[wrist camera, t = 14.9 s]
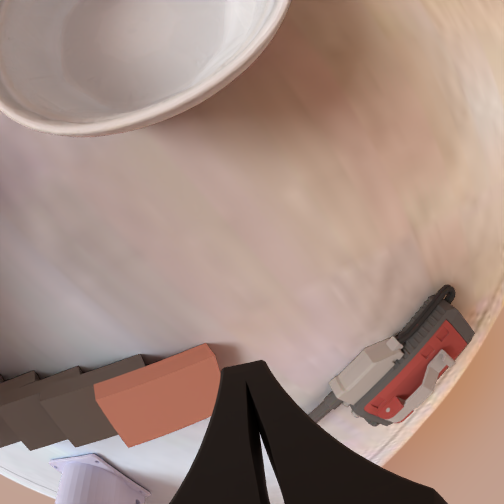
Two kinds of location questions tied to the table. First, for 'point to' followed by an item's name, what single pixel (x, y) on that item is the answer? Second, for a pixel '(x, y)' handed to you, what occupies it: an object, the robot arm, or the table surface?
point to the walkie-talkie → (401, 365)
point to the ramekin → (123, 59)
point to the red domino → (161, 395)
